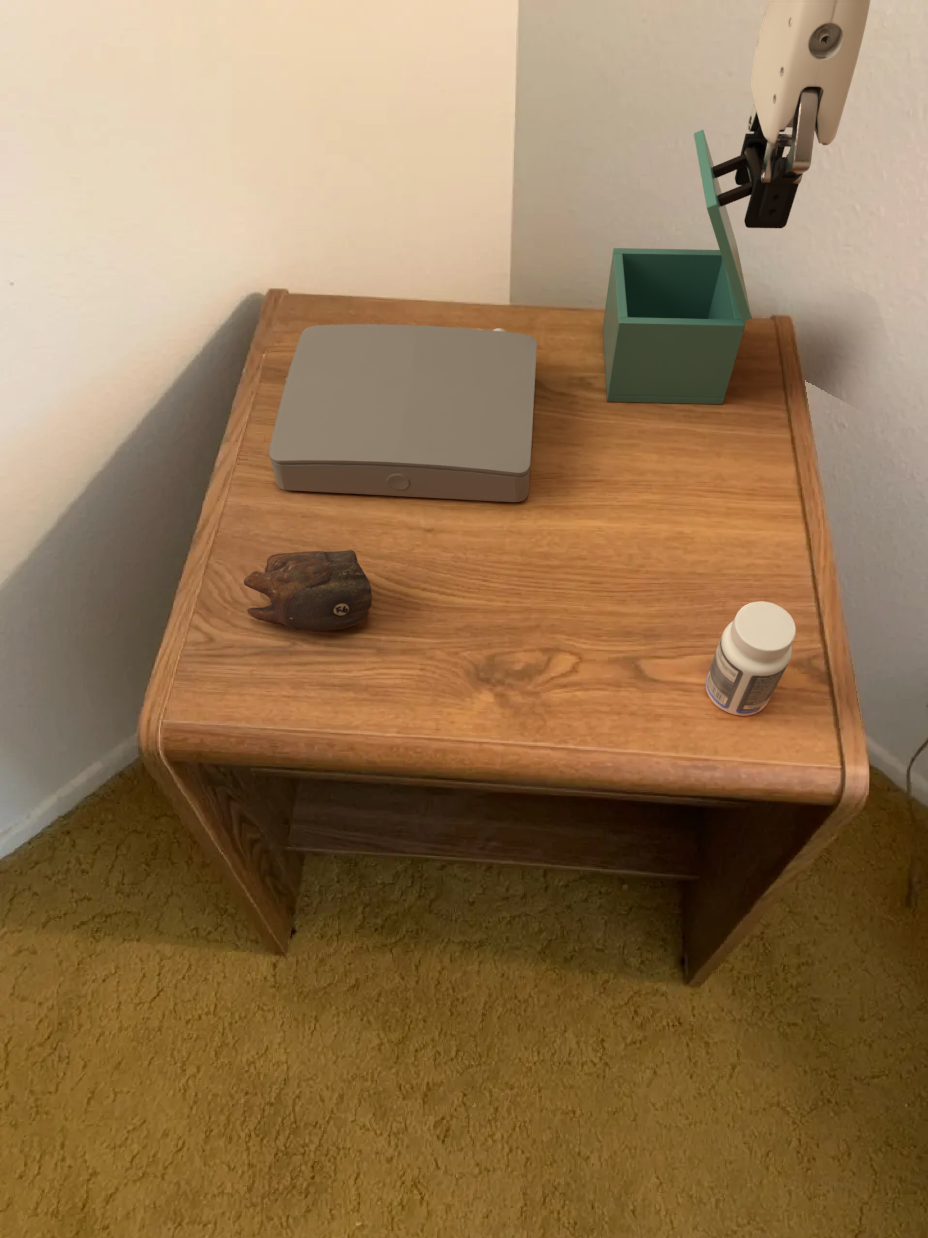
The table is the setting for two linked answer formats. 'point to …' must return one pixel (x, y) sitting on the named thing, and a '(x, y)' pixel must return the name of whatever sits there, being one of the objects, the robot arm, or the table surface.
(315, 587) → the dark brown rock
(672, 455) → the table surface
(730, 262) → the lid
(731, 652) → the pill bottle
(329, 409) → the electronic device
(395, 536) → the table surface
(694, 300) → the green box
